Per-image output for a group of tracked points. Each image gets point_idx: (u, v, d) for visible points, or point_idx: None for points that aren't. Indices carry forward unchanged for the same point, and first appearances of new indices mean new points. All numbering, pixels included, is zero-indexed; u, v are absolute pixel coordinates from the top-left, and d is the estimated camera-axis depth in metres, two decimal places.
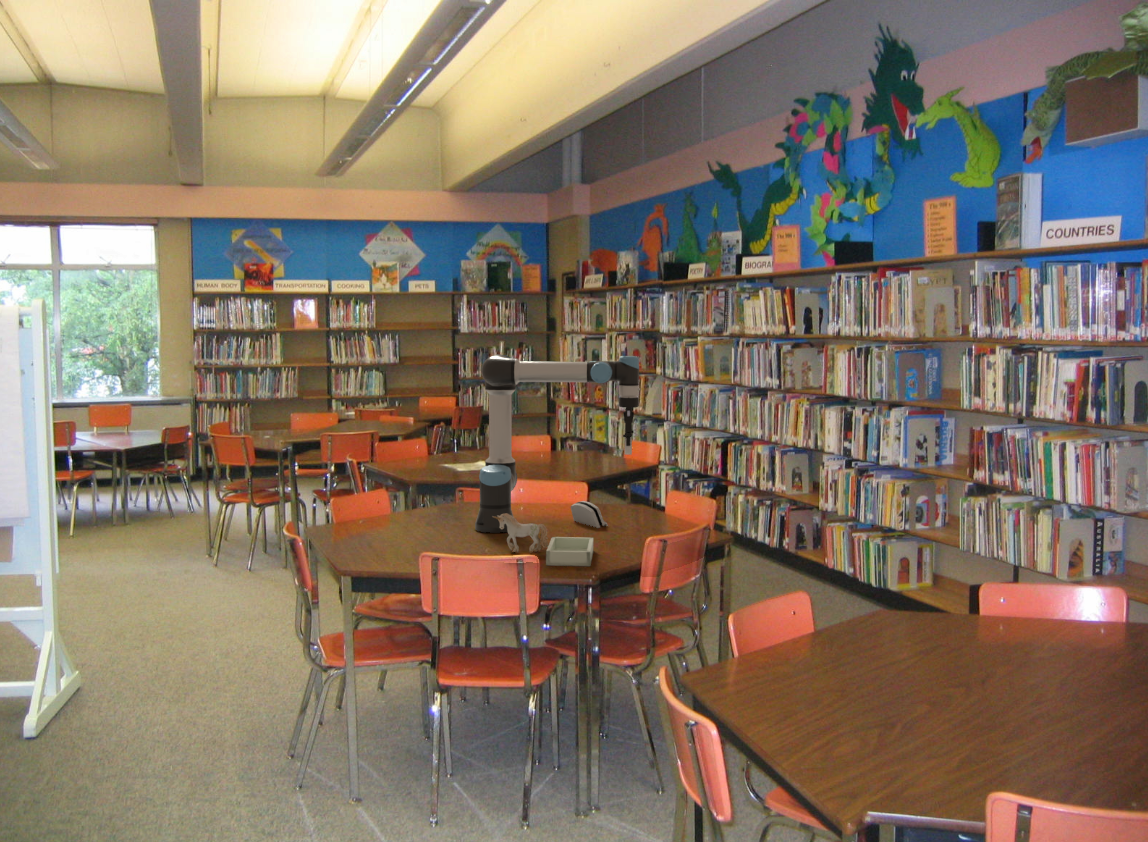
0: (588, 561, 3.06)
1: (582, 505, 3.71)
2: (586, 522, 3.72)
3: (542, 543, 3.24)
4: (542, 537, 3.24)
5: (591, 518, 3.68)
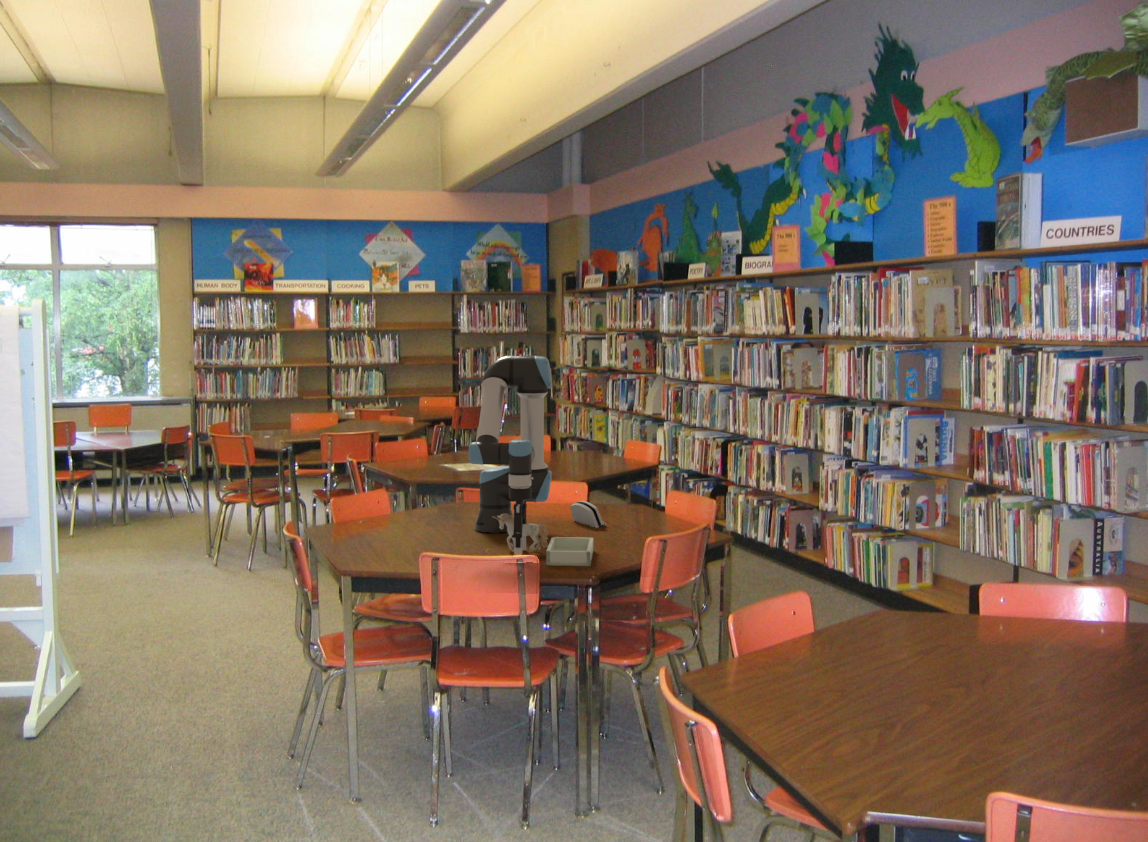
0: (588, 561, 3.06)
1: (581, 505, 3.71)
2: (585, 522, 3.72)
3: (542, 543, 3.23)
4: (542, 537, 3.23)
5: (590, 518, 3.68)
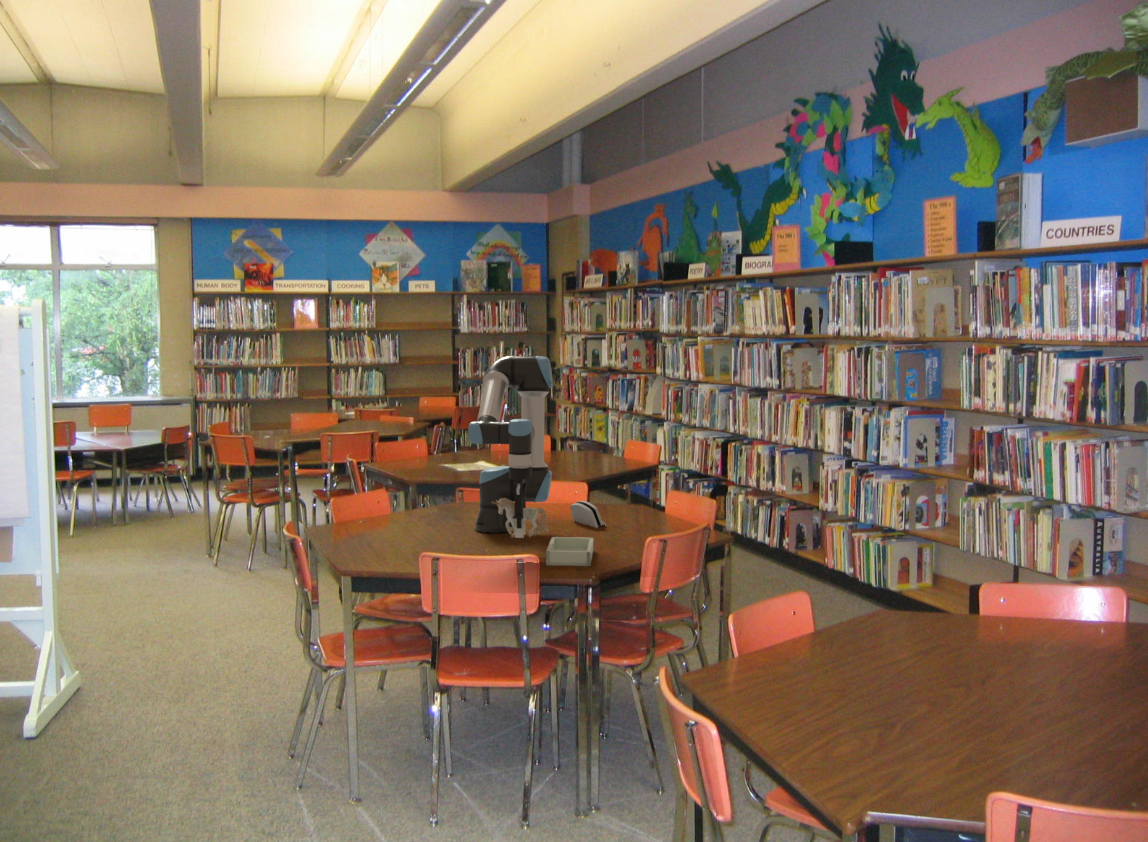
0: (588, 561, 3.06)
1: (581, 505, 3.71)
2: (585, 522, 3.72)
3: (541, 527, 3.21)
4: (541, 521, 3.21)
5: (589, 518, 3.68)
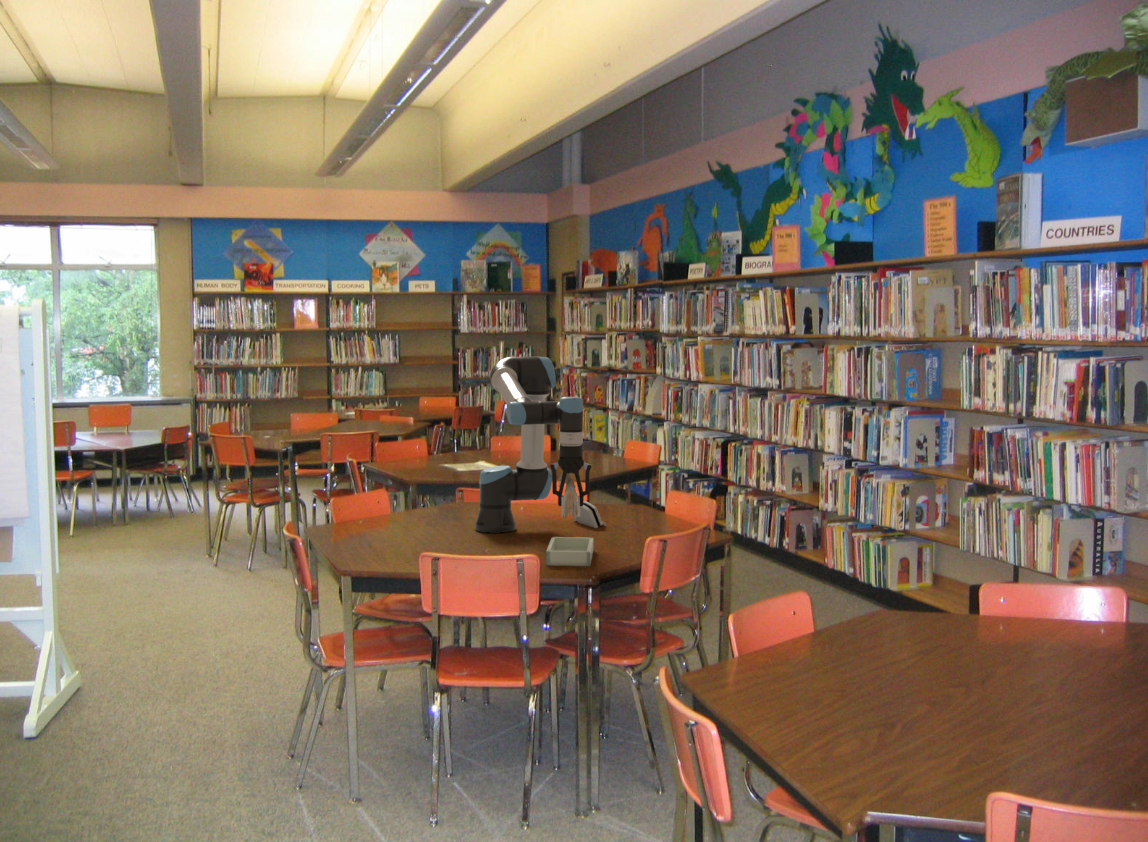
0: (588, 561, 3.06)
1: None
2: (585, 522, 3.73)
3: (566, 510, 3.09)
4: None
5: (589, 518, 3.68)
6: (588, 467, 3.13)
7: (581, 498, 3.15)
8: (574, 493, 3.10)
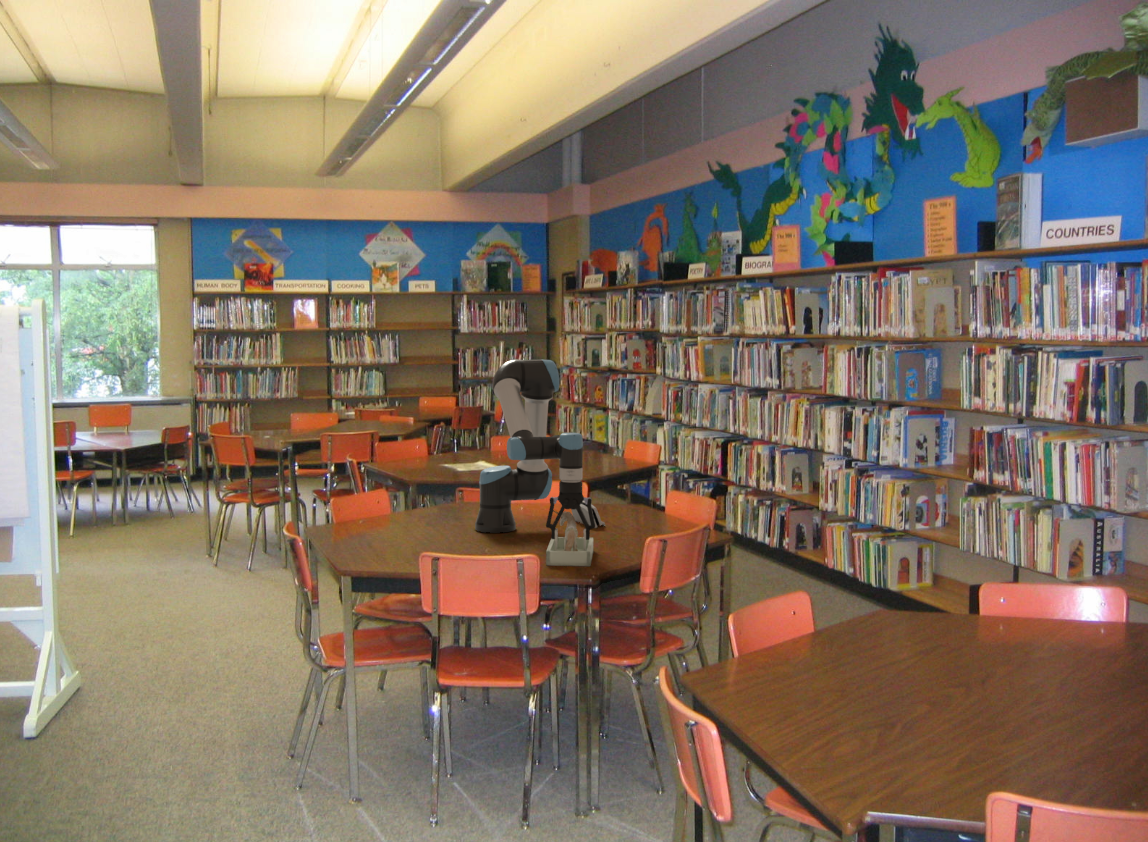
0: (588, 561, 3.06)
1: (580, 505, 3.71)
2: None
3: None
4: (567, 543, 3.10)
5: (588, 518, 3.68)
6: (589, 501, 3.14)
7: (587, 531, 3.16)
8: (575, 533, 3.11)
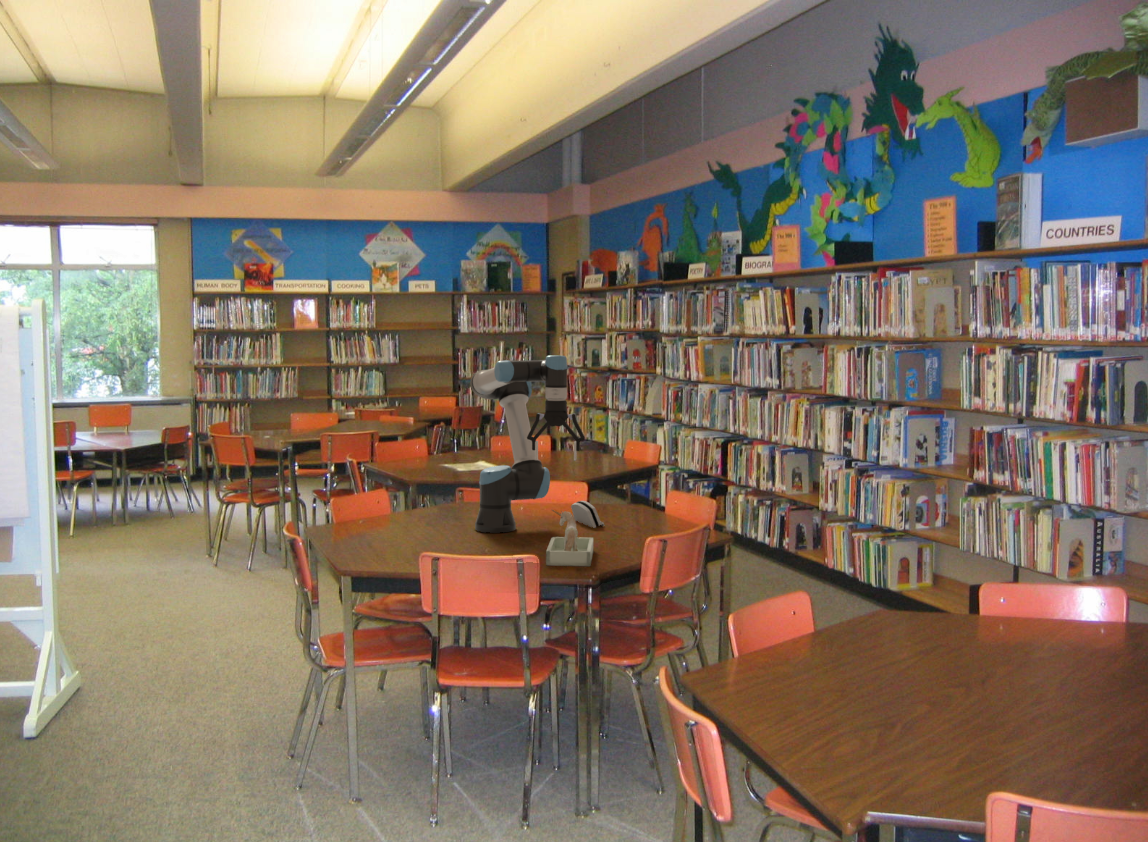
0: (588, 561, 3.06)
1: (580, 504, 3.72)
2: (584, 522, 3.73)
3: None
4: (567, 543, 3.10)
5: (587, 518, 3.68)
6: (573, 416, 3.38)
7: (577, 443, 3.40)
8: (575, 533, 3.11)
